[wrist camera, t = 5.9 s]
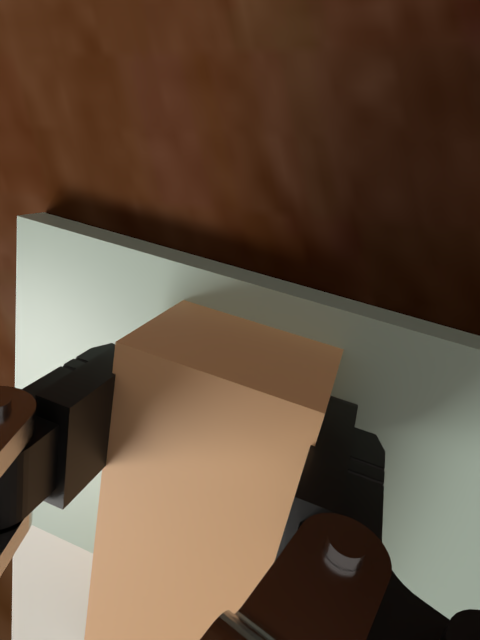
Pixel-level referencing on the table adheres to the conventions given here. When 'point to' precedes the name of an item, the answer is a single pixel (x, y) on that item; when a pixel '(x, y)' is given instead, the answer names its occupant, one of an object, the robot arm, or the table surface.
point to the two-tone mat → (350, 385)
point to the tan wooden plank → (200, 468)
